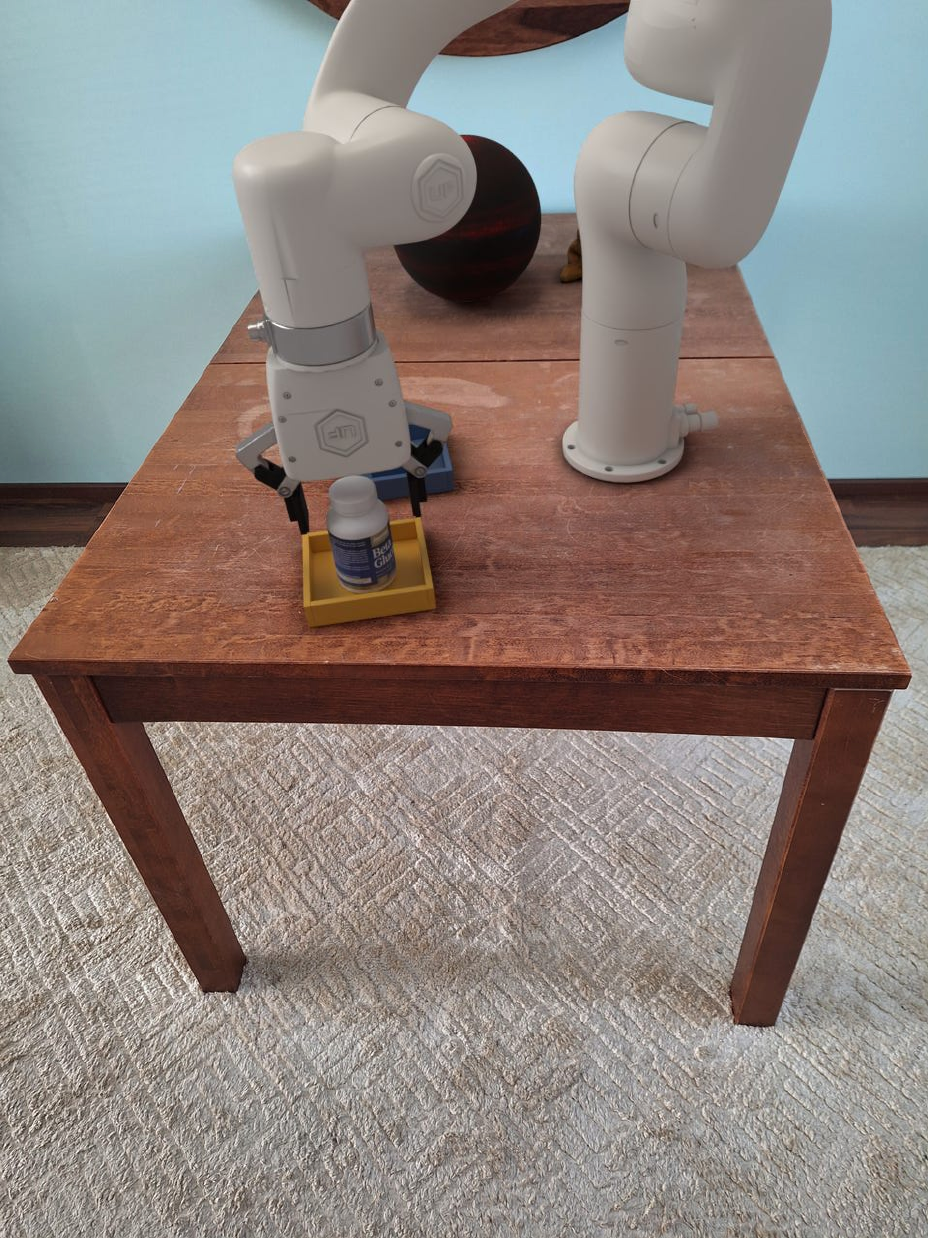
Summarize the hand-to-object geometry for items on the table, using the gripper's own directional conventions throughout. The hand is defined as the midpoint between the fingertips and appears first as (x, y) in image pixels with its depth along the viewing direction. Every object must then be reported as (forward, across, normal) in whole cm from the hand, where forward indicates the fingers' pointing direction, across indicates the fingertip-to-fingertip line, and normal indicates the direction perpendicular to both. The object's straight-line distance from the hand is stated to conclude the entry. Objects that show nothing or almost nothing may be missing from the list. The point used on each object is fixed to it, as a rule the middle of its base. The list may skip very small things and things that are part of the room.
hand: (360, 516), depth 74 cm
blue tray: (+7, +4, +17) cm, 19 cm away
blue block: (+7, +3, +17) cm, 18 cm away
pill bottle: (+7, 0, 0) cm, 7 cm away
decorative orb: (+8, +18, +57) cm, 60 cm away
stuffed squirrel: (+8, +38, +61) cm, 72 cm away
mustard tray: (+7, 0, 0) cm, 7 cm away
